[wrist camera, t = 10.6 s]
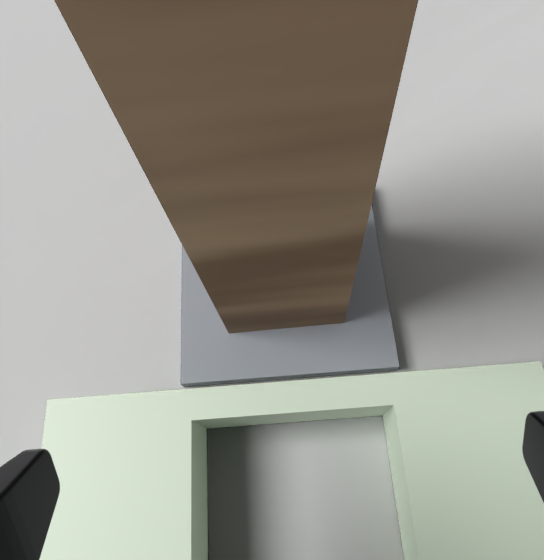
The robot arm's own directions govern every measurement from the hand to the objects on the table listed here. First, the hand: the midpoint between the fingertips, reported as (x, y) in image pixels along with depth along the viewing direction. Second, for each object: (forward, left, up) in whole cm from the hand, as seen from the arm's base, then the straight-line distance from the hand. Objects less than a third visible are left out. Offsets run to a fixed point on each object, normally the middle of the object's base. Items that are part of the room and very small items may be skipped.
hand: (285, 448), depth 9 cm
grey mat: (+5, +5, -8) cm, 11 cm away
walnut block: (+5, +5, -8) cm, 11 cm away
